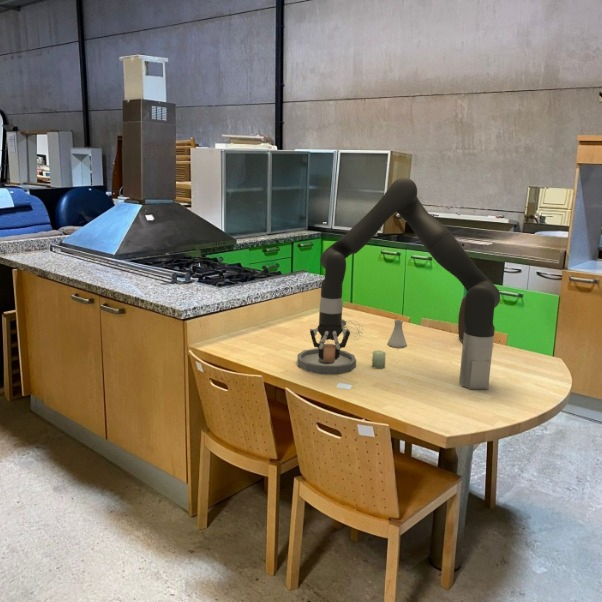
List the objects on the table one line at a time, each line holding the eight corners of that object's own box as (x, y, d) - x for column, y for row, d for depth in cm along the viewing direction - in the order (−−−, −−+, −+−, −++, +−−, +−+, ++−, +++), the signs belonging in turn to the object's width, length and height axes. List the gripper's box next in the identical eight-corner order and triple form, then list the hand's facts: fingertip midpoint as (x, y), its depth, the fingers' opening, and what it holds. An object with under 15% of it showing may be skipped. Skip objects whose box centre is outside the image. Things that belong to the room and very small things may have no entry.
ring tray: (359, 374, 203) (359, 367, 203) (299, 373, 202) (299, 366, 201) (350, 355, 223) (350, 348, 222) (295, 354, 221) (296, 348, 220)
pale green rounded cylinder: (385, 368, 210) (386, 354, 208) (373, 368, 209) (374, 354, 208) (383, 364, 214) (384, 350, 213) (370, 364, 213) (371, 350, 212)
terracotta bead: (337, 360, 205) (338, 346, 204) (326, 362, 203) (327, 348, 202) (330, 356, 209) (331, 342, 208) (319, 358, 206) (320, 344, 205)
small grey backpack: (454, 337, 249) (459, 289, 244) (474, 337, 250) (479, 289, 245) (468, 348, 234) (473, 298, 230) (489, 348, 235) (494, 298, 230)
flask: (383, 344, 236) (385, 319, 234) (396, 341, 241) (398, 317, 238) (397, 349, 231) (399, 324, 228) (410, 346, 235) (412, 321, 233)
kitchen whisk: (335, 318, 274) (336, 304, 272) (365, 340, 243) (366, 325, 241) (322, 318, 272) (323, 305, 271) (351, 341, 241) (352, 325, 239)
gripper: (350, 307, 206) (347, 355, 210) (308, 306, 205) (306, 355, 209) (353, 313, 199) (351, 362, 203) (310, 312, 198) (308, 362, 202)
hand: (328, 358), depth 206 cm, fingers closed on terracotta bead, 4 cm apart
